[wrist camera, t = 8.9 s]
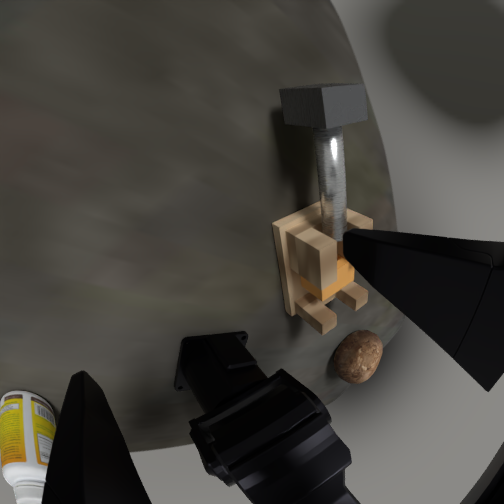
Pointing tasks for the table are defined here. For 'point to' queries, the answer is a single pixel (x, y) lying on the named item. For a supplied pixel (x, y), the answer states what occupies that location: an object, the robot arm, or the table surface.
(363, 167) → the table surface
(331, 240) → the bearing block
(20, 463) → the supplement bottle
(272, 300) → the table surface
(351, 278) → the block
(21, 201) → the table surface
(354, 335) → the mushroom
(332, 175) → the shaft
